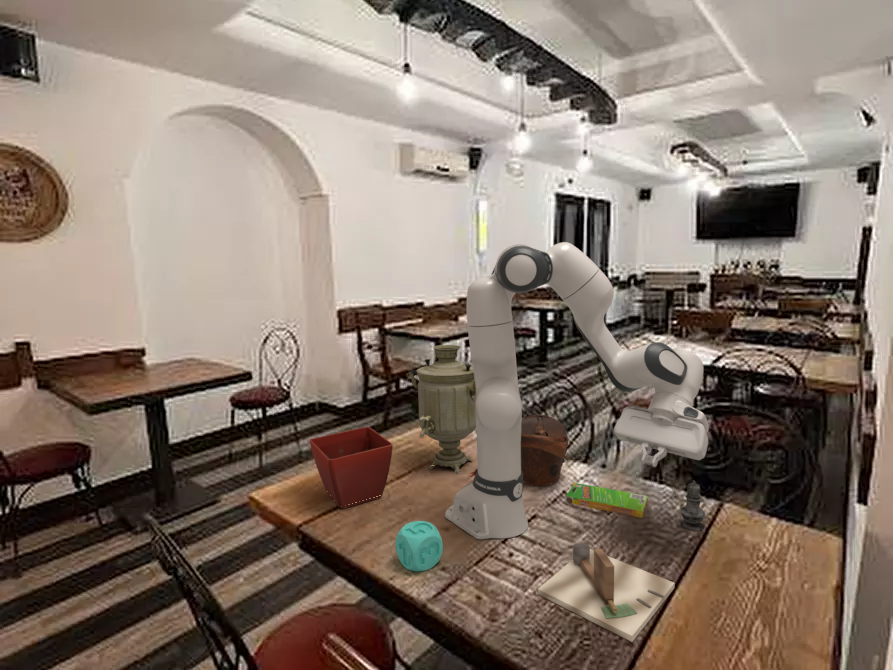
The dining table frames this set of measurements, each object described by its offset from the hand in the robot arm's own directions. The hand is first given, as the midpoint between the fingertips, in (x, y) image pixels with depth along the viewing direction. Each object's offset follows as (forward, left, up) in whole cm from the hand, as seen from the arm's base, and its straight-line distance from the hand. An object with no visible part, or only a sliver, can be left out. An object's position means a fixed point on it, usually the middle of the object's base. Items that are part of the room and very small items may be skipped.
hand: (648, 464), depth 117 cm
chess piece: (+4, +19, -22) cm, 29 cm away
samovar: (-70, +5, -22) cm, 74 cm away
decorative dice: (-37, -37, -22) cm, 57 cm away
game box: (-18, +16, -22) cm, 33 cm away
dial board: (0, -19, -21) cm, 29 cm away
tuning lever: (-2, -20, -20) cm, 28 cm away
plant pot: (-76, -27, -22) cm, 84 cm away
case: (-41, +18, -22) cm, 50 cm away
